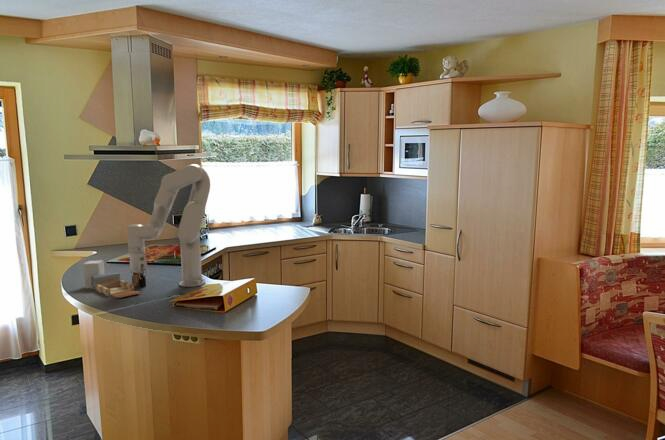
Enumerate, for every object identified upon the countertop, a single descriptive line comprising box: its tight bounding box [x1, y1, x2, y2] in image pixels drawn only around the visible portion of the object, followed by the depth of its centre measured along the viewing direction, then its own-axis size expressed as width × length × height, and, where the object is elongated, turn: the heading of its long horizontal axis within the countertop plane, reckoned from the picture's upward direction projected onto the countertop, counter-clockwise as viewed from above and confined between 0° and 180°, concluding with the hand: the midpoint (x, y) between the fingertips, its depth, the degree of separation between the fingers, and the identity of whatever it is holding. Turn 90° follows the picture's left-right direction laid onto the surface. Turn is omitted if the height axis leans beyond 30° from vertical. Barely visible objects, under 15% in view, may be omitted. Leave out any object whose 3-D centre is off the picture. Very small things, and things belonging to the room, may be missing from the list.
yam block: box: [132, 273, 142, 288], centre depth 246 cm, size 4×4×7 cm
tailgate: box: [110, 290, 141, 298], centre depth 230 cm, size 1×10×9 cm
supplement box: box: [82, 259, 106, 289], centre depth 250 cm, size 7×7×13 cm
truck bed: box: [90, 271, 135, 297], centre depth 240 cm, size 21×12×7 cm, turn 45°
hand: (139, 284), depth 247 cm, fingers open, 6 cm apart
